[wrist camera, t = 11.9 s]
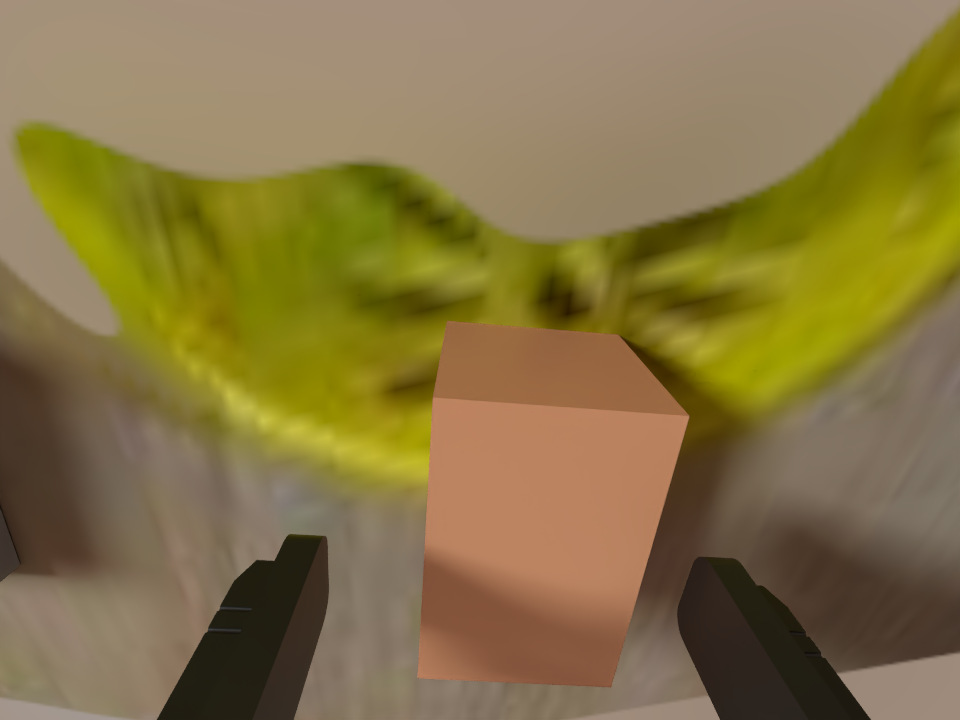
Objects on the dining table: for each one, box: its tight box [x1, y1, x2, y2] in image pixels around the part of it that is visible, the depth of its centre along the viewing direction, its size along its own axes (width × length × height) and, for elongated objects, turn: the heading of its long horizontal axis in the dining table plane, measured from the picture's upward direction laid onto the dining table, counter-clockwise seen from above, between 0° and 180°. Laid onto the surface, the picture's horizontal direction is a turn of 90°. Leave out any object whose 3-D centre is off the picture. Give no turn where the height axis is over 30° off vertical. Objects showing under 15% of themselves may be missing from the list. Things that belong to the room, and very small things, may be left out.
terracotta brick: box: [418, 321, 689, 687], centre depth 13 cm, size 5×8×5 cm, turn 175°
